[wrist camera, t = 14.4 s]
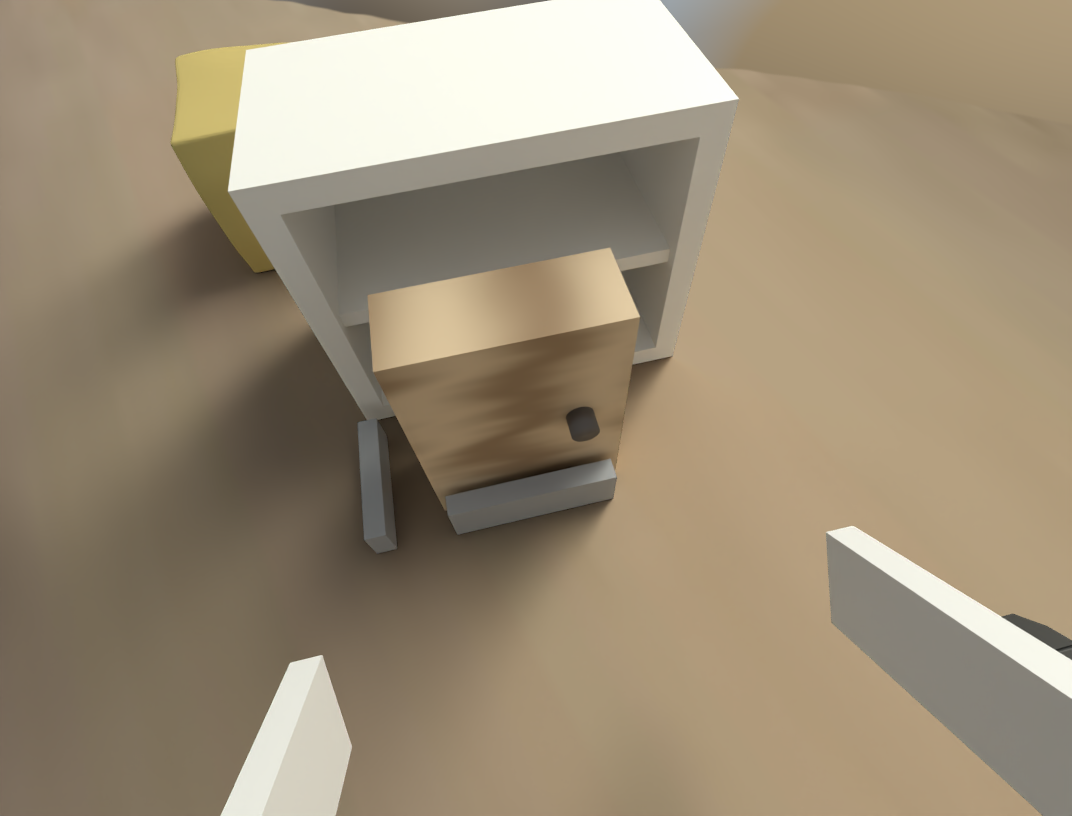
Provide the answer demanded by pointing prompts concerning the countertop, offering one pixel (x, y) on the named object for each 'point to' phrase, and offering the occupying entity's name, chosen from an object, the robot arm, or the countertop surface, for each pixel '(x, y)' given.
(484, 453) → the door
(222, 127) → the cheese
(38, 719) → the countertop surface
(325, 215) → the cabinet
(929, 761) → the countertop surface
